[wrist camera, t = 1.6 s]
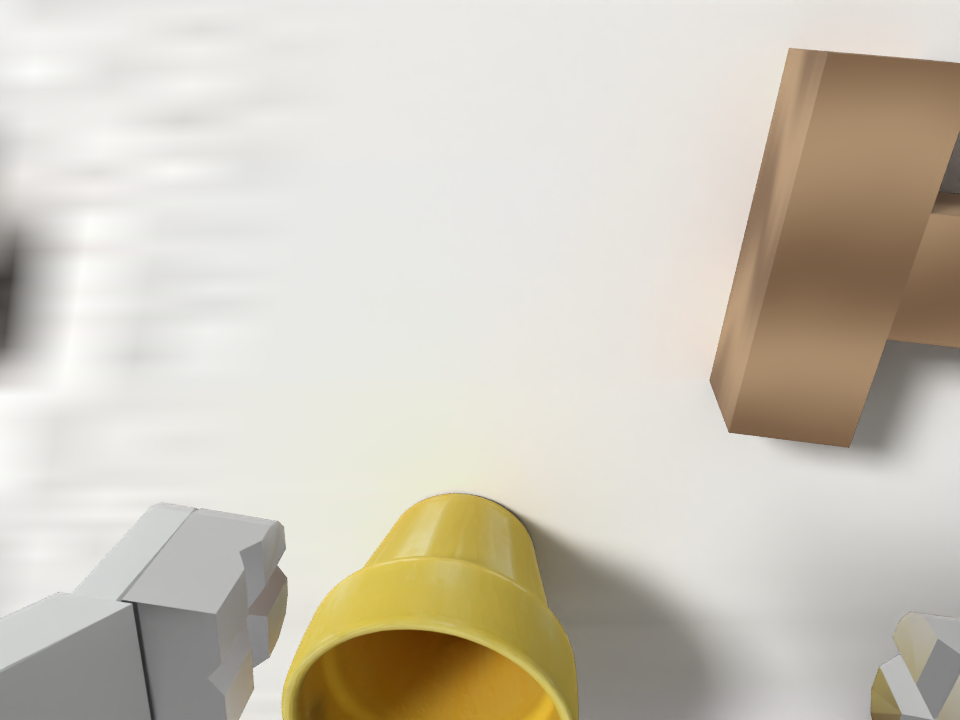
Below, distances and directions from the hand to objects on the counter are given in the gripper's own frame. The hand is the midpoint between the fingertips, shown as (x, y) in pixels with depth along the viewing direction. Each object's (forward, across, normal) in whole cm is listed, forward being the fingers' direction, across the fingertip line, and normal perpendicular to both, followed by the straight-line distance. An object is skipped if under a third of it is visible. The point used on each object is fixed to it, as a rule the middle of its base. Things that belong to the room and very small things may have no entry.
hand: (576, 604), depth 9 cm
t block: (+19, -12, 0) cm, 23 cm away
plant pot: (+20, +3, +16) cm, 26 cm away
